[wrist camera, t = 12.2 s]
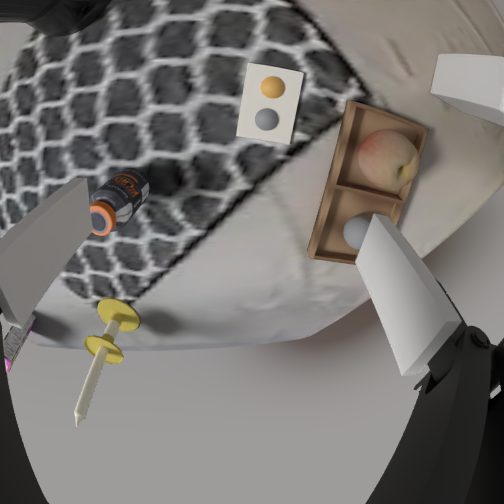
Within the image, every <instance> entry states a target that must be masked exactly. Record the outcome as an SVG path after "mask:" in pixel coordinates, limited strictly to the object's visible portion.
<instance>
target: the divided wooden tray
mask: <svg viewBox="0 0 504 504" xmlns="http://www.w3.org/2000/svg"><path fill="white" fill-rule="evenodd" d="M382 129H390V130H394V131H397V132H399V133H401V134H403V135H404V136H405V137H406V138H407V139H408V140H409V141H410V142H411V143H412V144H413V145H414V146H415V148H416V149H417V151H418V154H419V157H420V158H421V154H422V151H423V148H424V144H425V141H426V137H427V134H428V130H429V129H426V128H424V127H422V126H420V125H417V124H415V123H413V122H410V121H408V120H405V119H403V118H400V117H398V116H395V115H393V114H390V113H387V112H385V111H382V110H379V109H376V108H373V107H370V106H367V105H364V104H361V103H358V102H355V101H351V100H347V102H346V107H345V111H344V116H343V120H342V124H341V128H340V132H339V137H338V141H337V145H336V149H335V153H334V157H333V160H332V164H331V168H330V172H329V176H328V179H327V183H326V187H325V190H324V194H323V197H322V201H321V205H320V208H319V212H318V215H317V218H316V222H315V225H314V229H313V232H312V235H311V239H310V242H309V245H308V248H307V251H308V255H309V258H310V259H317V260H325V261H332V262H339V263H347V264H354V265H356V263H355V261H356V259H357V256H358V254H359V251H360V250H358V249H354V248H352V247H351V246H349V245H348V244H347V242H346V241H345V239H344V234H343V230H344V226H345V224H346V222H347V221H348V220H349V219H350V218H352V217H354V216H357V215H362V216H366V217H368V218H369V219H371V220H372V217H373V214H374V213H375V214H379V215H384V216H388V217H389V219H390V220H391V221H392V222H393V224H394V225H395V226H396V225H397V222H398V220H399V217H400V215H401V212H402V209H403V207H404V204H405V201H406V199H407V196H408V193H409V191H410V188H411V185H412V182H413V179H412V180H411V181H410V182H409V183H408V184H407V185H406V186H404V187H403V188H401V189H398V190H389V189H384V188H381V187H377V186H375V185H374V184H372V183H371V182H370V181H369V180H368V179H367V178H366V177H365V176H364V174H363V173H362V171H361V169H360V167H359V164H358V151H359V148H360V146H361V144H362V142H363V141H364V140H365V139H366V138H367V137H368V136H369V135H370V134H372V133H373V132H375V131H378V130H382Z"/></svg>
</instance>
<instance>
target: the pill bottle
mask: <svg viewBox="0 0 504 504" xmlns="http://www.w3.org/2000/svg"><path fill="white" fill-rule="evenodd" d="M148 194H149V183H148V180H147V179H146V177H145V176H144V175H143V174H142V173H141V172H140V171H138V170H135V169H125V170H122V171H121V172H119V173H118V174H117V175H115V176H114V177H113V178H111V179H110V180H109V181H108V182H106V183H105V184H104V185H102V186H101V187H100V188H99V189H98V190H97V191H95V192H94V193H93V194H92V196H91V198H90V200H89V205H90V212H91V220H92V226H93V231H92V232H93V233H94V234H96V235H100V236H103V235H107V234H108V233H110V232H113V231H118V230H120V229H121V228H123V227H124V226H125V225H126V223H127V222H128V221H129V220H130V218H131V217H132V216H133V215H134V213H135V212H136V211H137V210H138V208H139V207H140V206H141V205H142V204H143V203H144V201H145V200H146V199H147V197H148Z"/></svg>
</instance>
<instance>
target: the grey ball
mask: <svg viewBox="0 0 504 504" xmlns="http://www.w3.org/2000/svg"><path fill="white" fill-rule="evenodd" d="M370 222H371V219H369V218H368V217H366V216H362V215H357V216H354V217H352V218H350V219H349V220H348V221H347V222H346V224H345V226H344V230H343V234H344V239H345V241H346V242H347V244H348V245H349V246H351V247H352V248H354V249H358V250H360V249H361V246H362V244H363V241H364V238H365V236H366V233H367V231H368V228H369V225H370Z"/></svg>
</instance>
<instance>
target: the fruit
mask: <svg viewBox="0 0 504 504" xmlns="http://www.w3.org/2000/svg"><path fill="white" fill-rule="evenodd" d="M358 164H359V167H360V169H361V171H362V173H363V174H364V176H365V177H366V178H367V179H368V180H369V181H370V182H371V183H372V184H374V185H375V186H377V187H381V188H384V189H389V190H398V189H401V188H403V187H404V186H406V185H407V184H408V183H409V182H410V181H411V180H412V179H414V177H415V176H416V175H417V173H418V171H419V167H420V157H419V154H418V151H417V149H416V148H415V146H414V145H413V144H412V143H411V142H410V141H409V140H408V139H407V138H406V137H405V136H404V135H403V134H401V133H399V132H397V131H394V130H390V129H382V130H378V131H375V132H373V133H372V134H370V135H369V136H368V137H367V138H366V139H365V140H364V141H363V142H362V144H361V146H360V148H359V151H358Z"/></svg>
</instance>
